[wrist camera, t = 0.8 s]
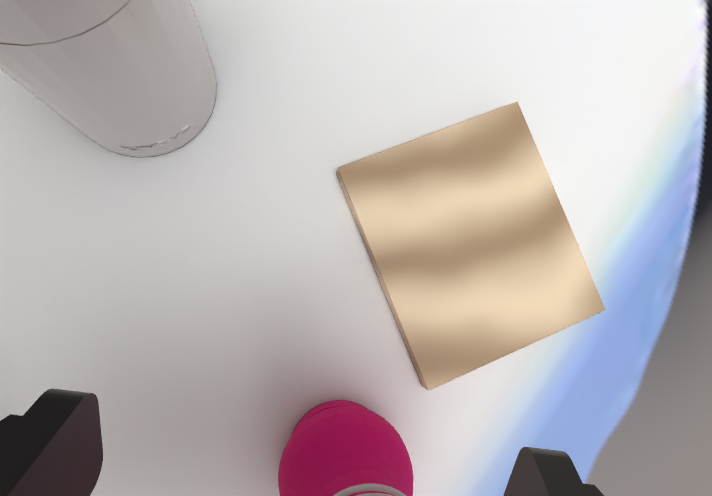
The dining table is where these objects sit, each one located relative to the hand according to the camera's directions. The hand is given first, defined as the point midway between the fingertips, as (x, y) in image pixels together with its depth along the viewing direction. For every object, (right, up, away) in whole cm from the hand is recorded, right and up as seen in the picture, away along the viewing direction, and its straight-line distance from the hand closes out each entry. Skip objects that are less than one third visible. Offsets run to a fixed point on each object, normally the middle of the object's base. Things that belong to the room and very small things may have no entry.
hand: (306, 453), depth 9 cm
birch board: (+8, +4, +24) cm, 26 cm away
